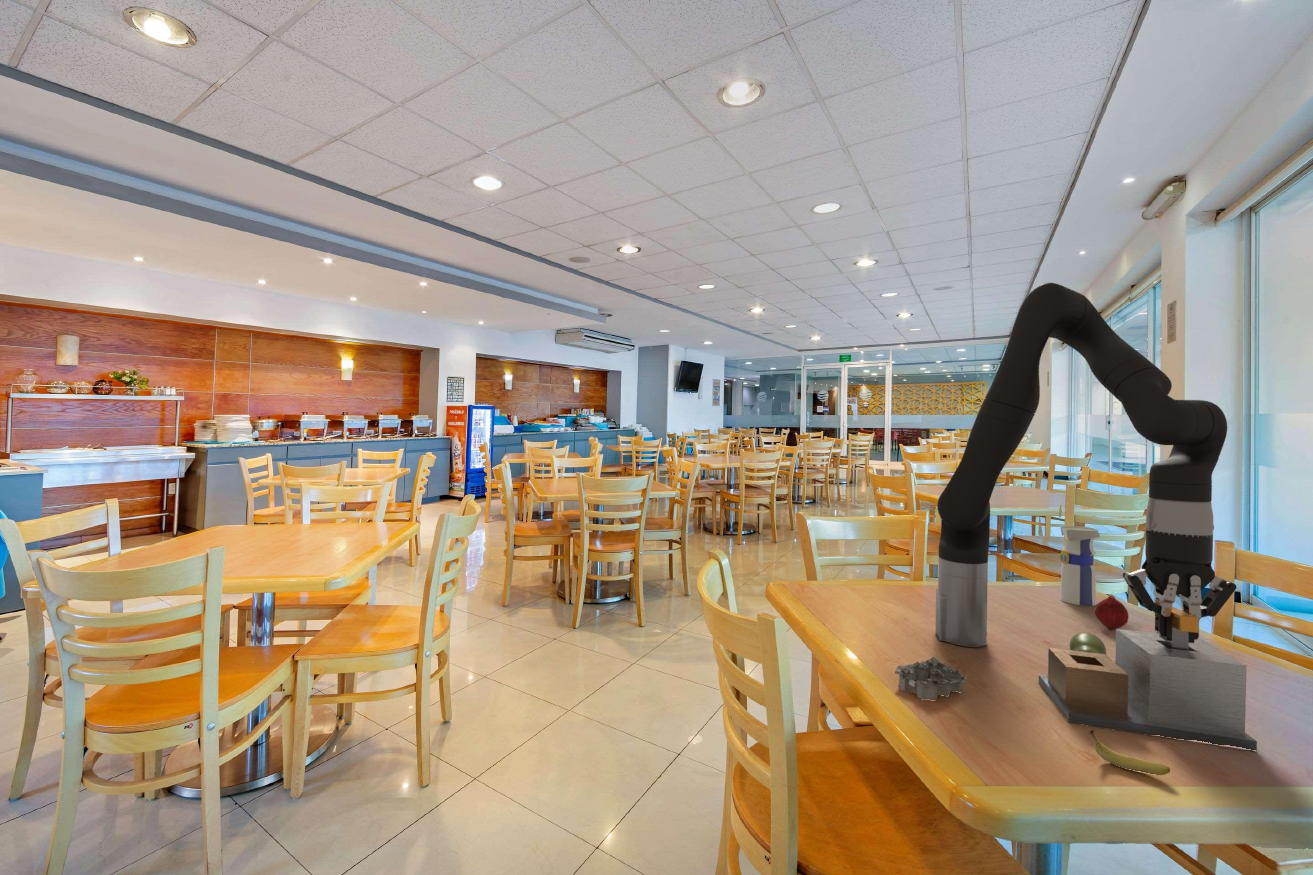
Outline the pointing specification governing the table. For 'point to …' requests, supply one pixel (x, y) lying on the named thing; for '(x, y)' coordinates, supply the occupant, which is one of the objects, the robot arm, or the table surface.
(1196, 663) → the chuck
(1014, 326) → the robot arm
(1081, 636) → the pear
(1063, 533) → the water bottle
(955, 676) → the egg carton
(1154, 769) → the banana
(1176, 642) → the key
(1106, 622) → the onion
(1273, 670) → the table surface
